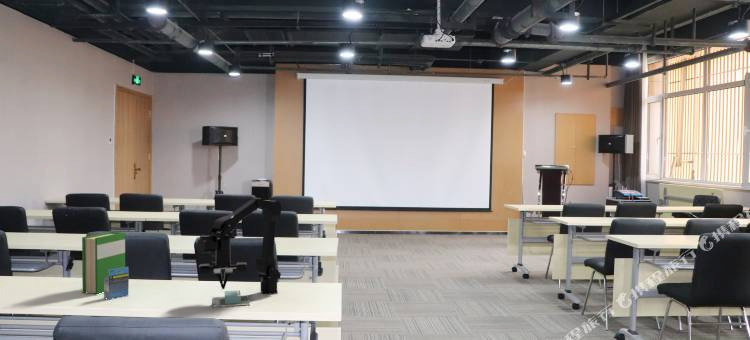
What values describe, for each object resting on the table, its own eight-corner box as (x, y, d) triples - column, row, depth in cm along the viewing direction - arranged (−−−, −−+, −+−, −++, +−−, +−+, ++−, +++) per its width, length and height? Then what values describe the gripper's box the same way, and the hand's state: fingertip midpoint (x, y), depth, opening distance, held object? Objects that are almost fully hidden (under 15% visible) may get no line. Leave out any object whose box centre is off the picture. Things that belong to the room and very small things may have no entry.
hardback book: (97, 295, 248) (97, 238, 247) (82, 293, 250) (82, 237, 249) (125, 285, 265) (125, 232, 264) (111, 284, 267) (110, 231, 266)
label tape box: (123, 294, 250) (123, 265, 249) (129, 295, 247) (129, 266, 247) (103, 298, 242) (103, 268, 242) (109, 300, 240) (109, 269, 240)
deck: (224, 298, 243) (239, 297, 244) (225, 303, 234) (240, 303, 236) (224, 291, 243) (239, 290, 244) (225, 296, 234) (240, 295, 235)
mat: (247, 296, 248) (247, 295, 248) (249, 305, 234) (249, 304, 234) (213, 298, 244) (213, 297, 244) (213, 307, 230) (213, 306, 230)
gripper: (245, 246, 248) (245, 283, 248) (199, 248, 243) (199, 285, 243) (247, 250, 237) (247, 289, 238) (198, 252, 232) (198, 292, 233)
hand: (223, 289), depth 238 cm, fingers closed
